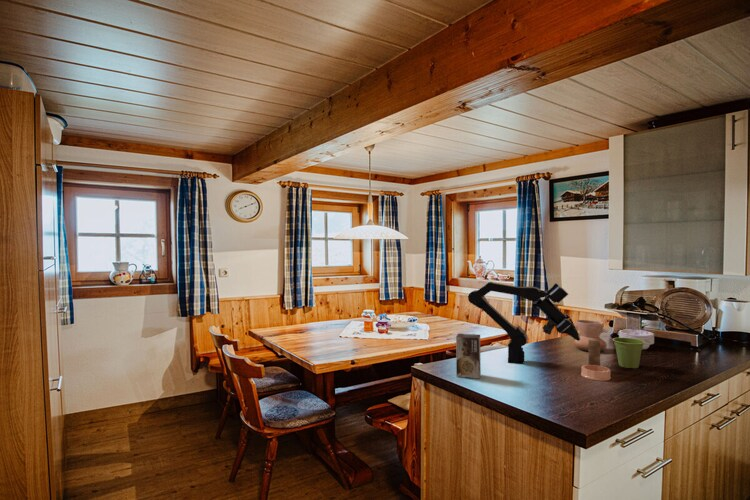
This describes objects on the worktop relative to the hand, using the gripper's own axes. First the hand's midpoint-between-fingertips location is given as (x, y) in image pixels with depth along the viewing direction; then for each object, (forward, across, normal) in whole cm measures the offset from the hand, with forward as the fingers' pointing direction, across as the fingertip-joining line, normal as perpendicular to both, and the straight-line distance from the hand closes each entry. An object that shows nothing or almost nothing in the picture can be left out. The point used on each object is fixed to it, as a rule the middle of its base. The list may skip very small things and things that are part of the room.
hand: (578, 337), depth 174 cm
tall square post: (+13, 0, -5) cm, 14 cm away
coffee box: (-20, +28, -38) cm, 51 cm away
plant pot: (+23, -12, +4) cm, 27 cm away
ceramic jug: (+14, -38, -5) cm, 41 cm away
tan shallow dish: (+13, +9, -5) cm, 17 cm away
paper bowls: (+30, -53, +11) cm, 62 cm away
